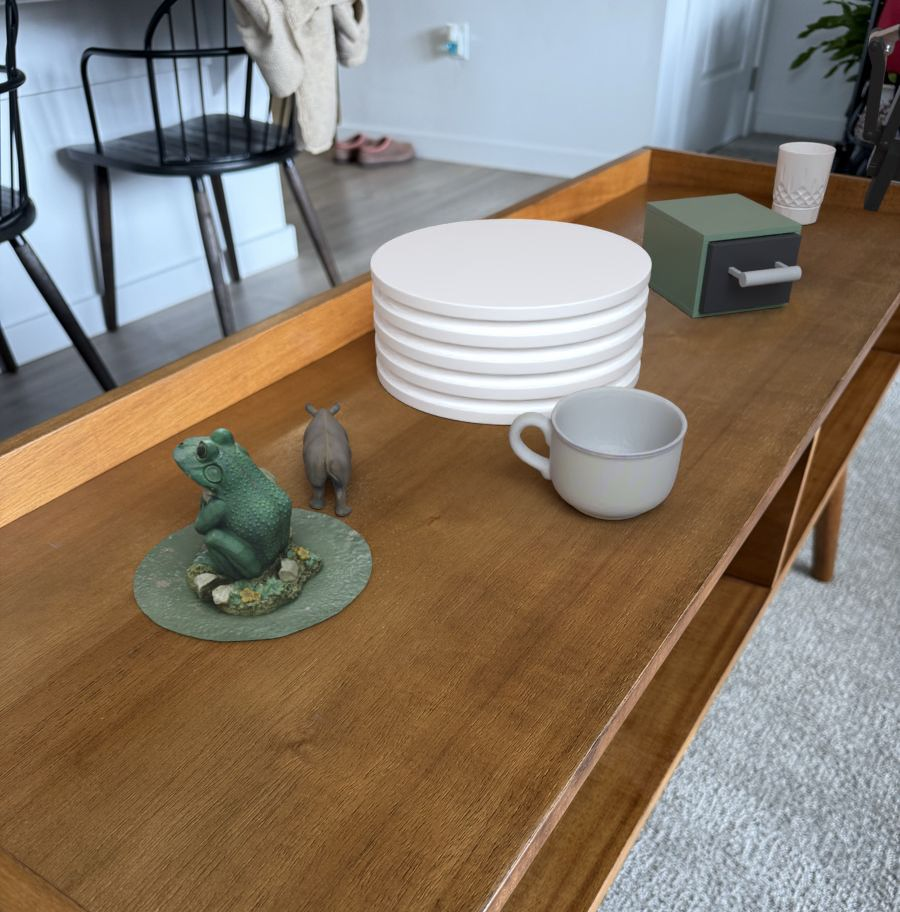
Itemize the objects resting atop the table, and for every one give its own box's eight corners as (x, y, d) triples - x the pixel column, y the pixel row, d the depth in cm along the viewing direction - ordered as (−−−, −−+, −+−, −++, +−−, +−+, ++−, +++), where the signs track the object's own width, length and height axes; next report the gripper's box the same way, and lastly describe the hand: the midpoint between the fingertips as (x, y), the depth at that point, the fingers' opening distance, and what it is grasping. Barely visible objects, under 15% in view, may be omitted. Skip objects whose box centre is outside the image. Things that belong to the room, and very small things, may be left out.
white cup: (827, 226, 143) (843, 153, 137) (774, 226, 143) (787, 154, 137) (812, 211, 149) (826, 141, 143) (761, 212, 149) (773, 142, 143)
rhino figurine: (347, 440, 90) (342, 380, 87) (359, 516, 79) (353, 452, 76) (303, 443, 90) (296, 383, 86) (308, 521, 79) (301, 456, 75)
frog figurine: (221, 491, 83) (198, 364, 76) (410, 534, 77) (404, 401, 70) (82, 607, 70) (39, 466, 63) (297, 670, 64) (275, 522, 57)
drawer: (809, 315, 112) (824, 246, 107) (721, 326, 109) (733, 257, 104) (731, 268, 125) (741, 205, 121) (651, 277, 123) (658, 214, 118)
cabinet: (786, 306, 117) (802, 224, 111) (692, 318, 114) (704, 235, 108) (725, 269, 128) (737, 193, 122) (638, 279, 125) (646, 202, 119)
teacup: (683, 480, 83) (696, 395, 79) (663, 547, 75) (676, 455, 70) (528, 457, 87) (531, 374, 82) (493, 518, 79) (494, 429, 74)
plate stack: (434, 307, 118) (432, 209, 111) (662, 335, 110) (675, 231, 103) (331, 400, 97) (321, 287, 90) (604, 444, 89) (615, 323, 82)
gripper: (1055, -44, 84) (935, 195, 104) (903, -70, 86) (814, 170, 106) (1056, -2, 80) (931, 237, 100) (896, -30, 82) (805, 211, 102)
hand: (871, 202), depth 103 cm, fingers closed
